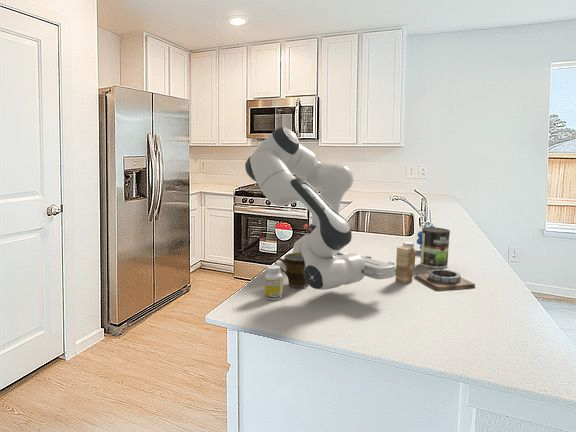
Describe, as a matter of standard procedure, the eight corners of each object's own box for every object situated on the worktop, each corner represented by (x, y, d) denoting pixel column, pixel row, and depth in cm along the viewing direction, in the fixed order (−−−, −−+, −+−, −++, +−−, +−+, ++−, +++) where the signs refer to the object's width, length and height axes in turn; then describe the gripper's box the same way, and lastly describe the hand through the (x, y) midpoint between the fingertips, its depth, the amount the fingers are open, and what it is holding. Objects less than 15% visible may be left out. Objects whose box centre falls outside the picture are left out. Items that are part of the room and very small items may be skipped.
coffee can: (453, 267, 170) (455, 231, 167) (429, 269, 167) (432, 232, 165) (437, 260, 179) (439, 226, 177) (415, 262, 177) (417, 227, 174)
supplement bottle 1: (273, 293, 139) (273, 263, 137) (286, 297, 136) (286, 266, 134) (261, 298, 135) (261, 267, 133) (274, 302, 132) (274, 270, 130)
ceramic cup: (312, 280, 152) (312, 252, 150) (315, 290, 142) (315, 260, 141) (274, 280, 152) (274, 252, 150) (274, 290, 142) (274, 260, 140)
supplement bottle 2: (417, 267, 169) (418, 242, 168) (409, 270, 166) (411, 245, 164) (404, 264, 173) (406, 240, 172) (397, 267, 170) (398, 242, 168)
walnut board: (437, 290, 143) (437, 287, 142) (415, 277, 156) (415, 274, 156) (474, 287, 146) (475, 284, 146) (450, 275, 159) (450, 272, 159)
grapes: (445, 252, 193) (447, 225, 191) (437, 255, 188) (439, 227, 186) (421, 248, 201) (422, 222, 199) (413, 250, 196) (414, 224, 195)
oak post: (405, 284, 149) (406, 249, 147) (395, 281, 152) (396, 247, 150) (412, 281, 152) (413, 248, 150) (402, 279, 155) (404, 245, 153)
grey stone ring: (439, 284, 145) (439, 278, 144) (422, 275, 154) (423, 270, 154) (466, 282, 147) (466, 276, 147) (448, 274, 157) (449, 268, 156)
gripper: (377, 265, 125) (407, 258, 134) (328, 252, 141) (358, 246, 150) (376, 287, 126) (406, 278, 135) (327, 271, 142) (357, 264, 151)
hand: (380, 261), depth 142 cm, fingers open, 8 cm apart
